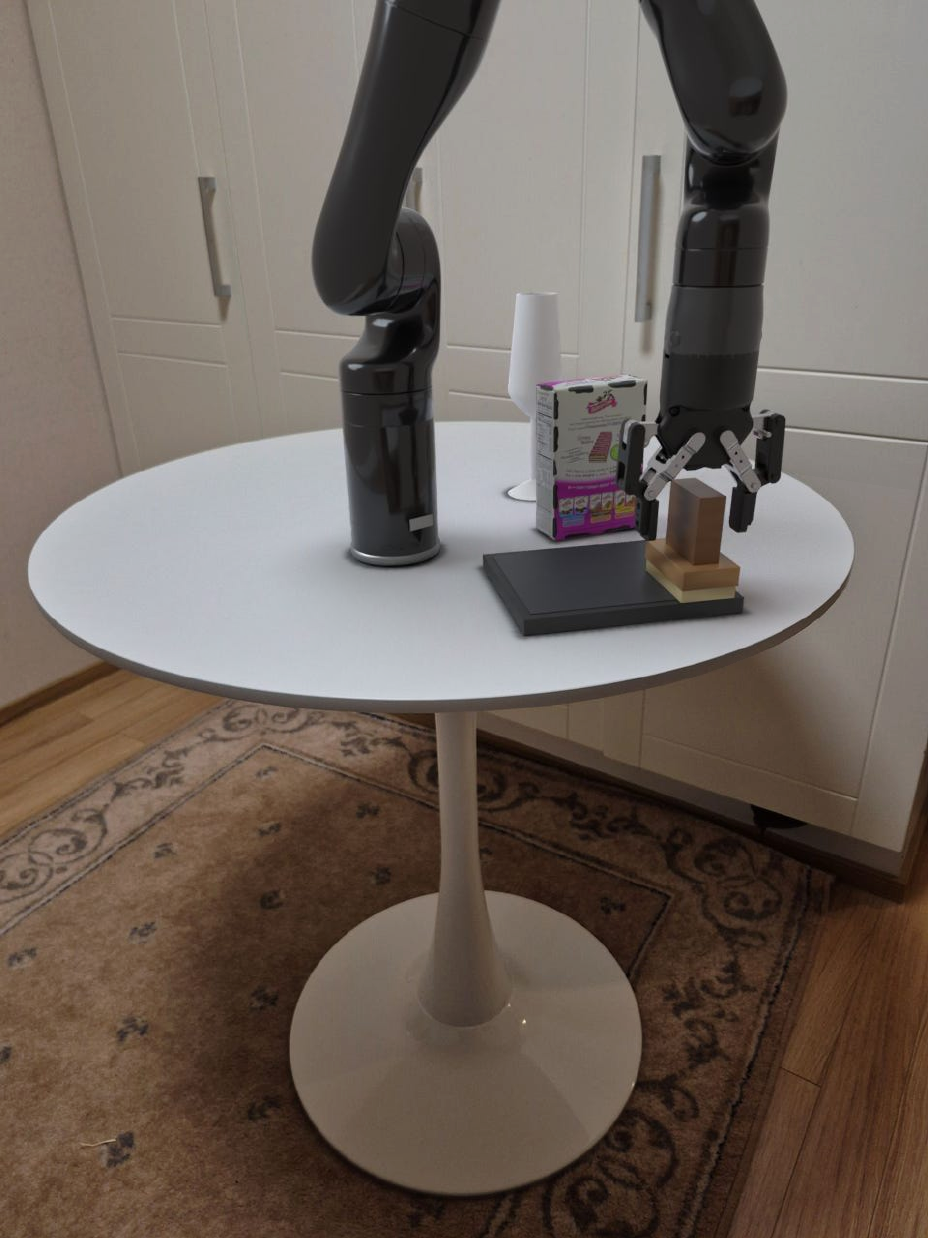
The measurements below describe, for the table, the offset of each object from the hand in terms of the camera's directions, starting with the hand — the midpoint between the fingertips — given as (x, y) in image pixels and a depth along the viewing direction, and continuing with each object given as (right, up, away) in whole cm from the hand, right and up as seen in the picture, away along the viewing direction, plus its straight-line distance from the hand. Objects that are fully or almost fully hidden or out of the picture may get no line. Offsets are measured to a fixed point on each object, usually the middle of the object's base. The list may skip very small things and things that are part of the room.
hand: (692, 534), depth 76 cm
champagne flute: (-11, +9, +34) cm, 37 cm away
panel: (-7, -5, +5) cm, 10 cm away
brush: (0, -4, +2) cm, 5 cm away
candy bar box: (-6, +3, +21) cm, 22 cm away
